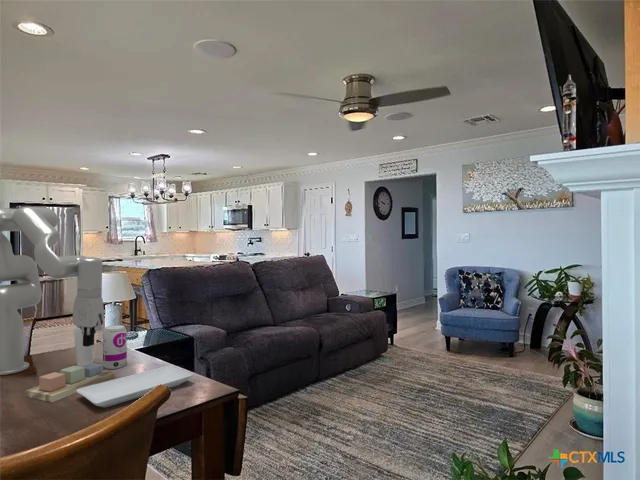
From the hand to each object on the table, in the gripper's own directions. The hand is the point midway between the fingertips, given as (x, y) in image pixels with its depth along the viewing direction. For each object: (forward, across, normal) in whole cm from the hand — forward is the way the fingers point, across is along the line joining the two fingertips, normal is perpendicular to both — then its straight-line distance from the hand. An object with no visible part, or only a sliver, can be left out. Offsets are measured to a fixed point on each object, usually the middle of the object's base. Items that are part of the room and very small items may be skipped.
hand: (88, 345), depth 147 cm
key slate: (+11, +1, 0) cm, 11 cm away
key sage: (+10, +1, -7) cm, 12 cm away
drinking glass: (+13, -14, +10) cm, 21 cm away
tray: (+12, +24, -2) cm, 27 cm away
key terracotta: (+10, +1, -14) cm, 17 cm away
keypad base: (+12, +1, -7) cm, 14 cm away
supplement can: (+12, -3, +14) cm, 19 cm away
